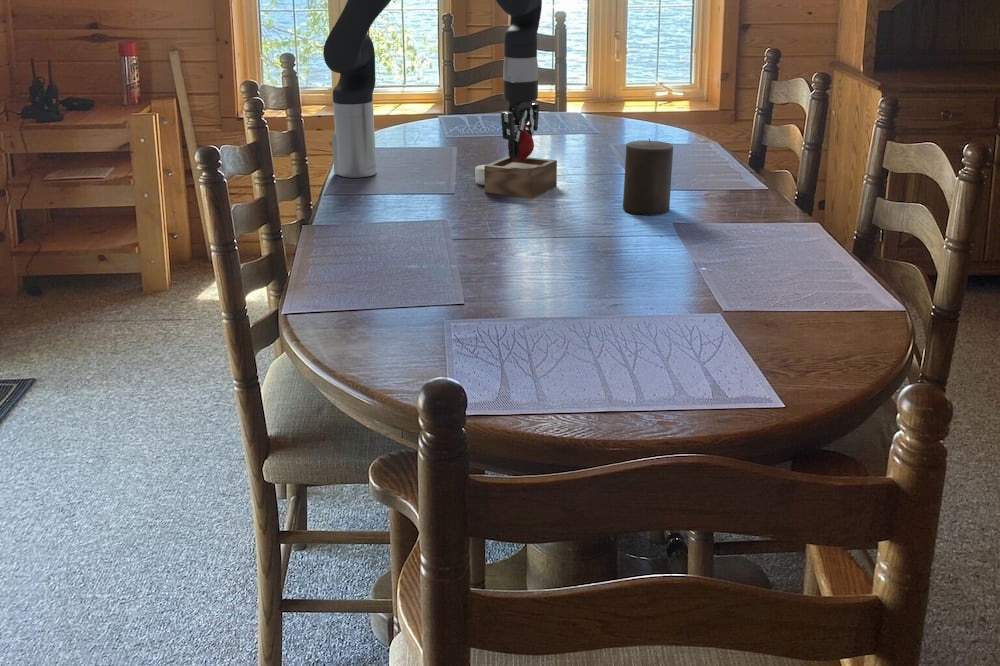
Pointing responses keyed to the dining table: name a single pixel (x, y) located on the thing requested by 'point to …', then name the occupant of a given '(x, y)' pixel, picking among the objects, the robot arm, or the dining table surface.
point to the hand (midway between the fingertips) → (520, 154)
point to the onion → (524, 145)
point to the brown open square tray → (520, 176)
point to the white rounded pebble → (480, 174)
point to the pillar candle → (647, 177)
